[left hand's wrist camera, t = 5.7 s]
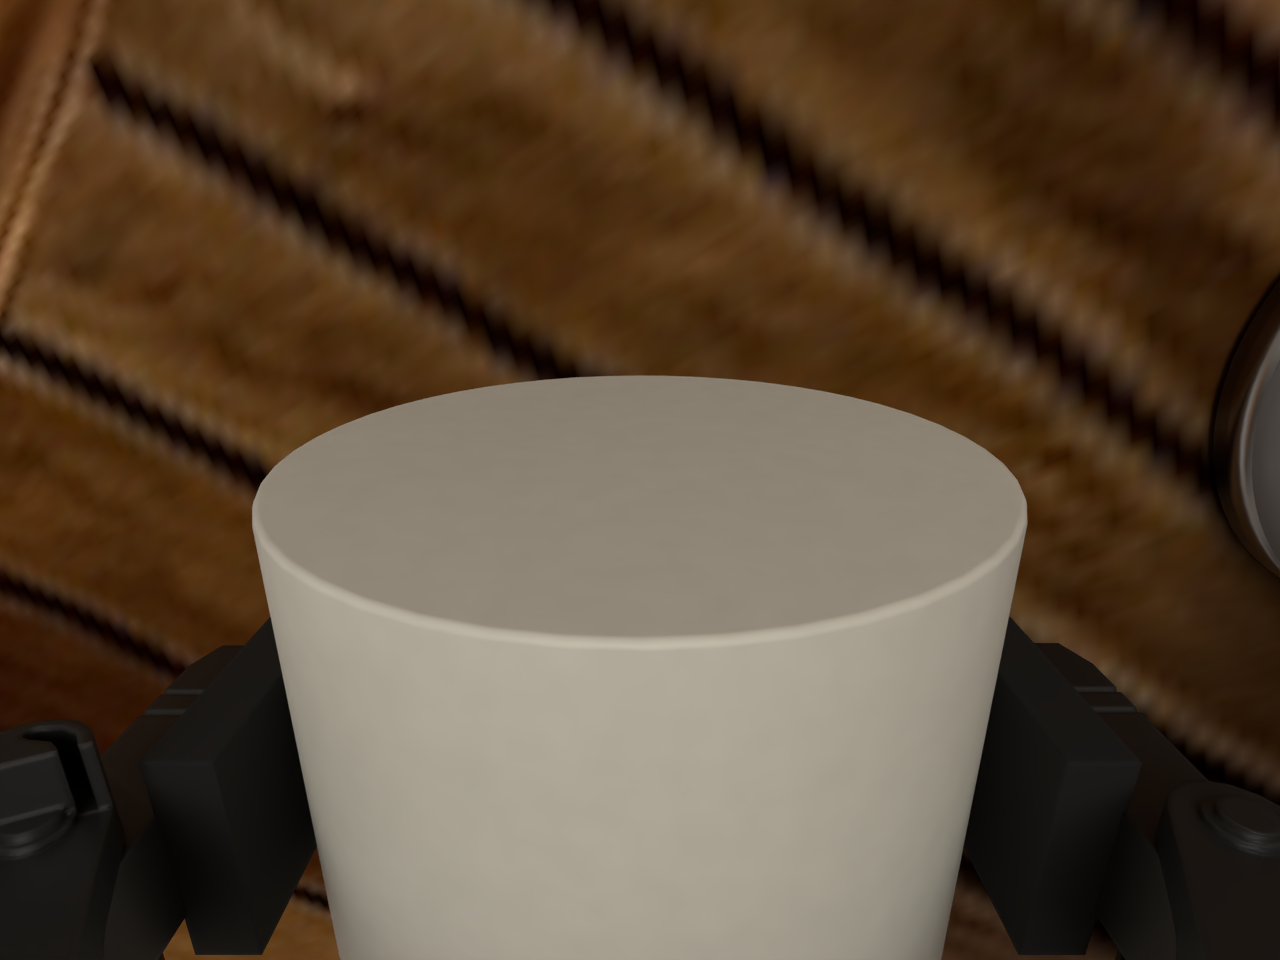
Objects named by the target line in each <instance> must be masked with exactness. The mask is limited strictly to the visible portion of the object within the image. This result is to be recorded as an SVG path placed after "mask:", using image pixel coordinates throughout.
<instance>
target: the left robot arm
mask: <svg viewBox="0 0 1280 960" xmlns="http://www.w3.org/2000/svg"><path fill="white" fill-rule="evenodd" d="M1213 462H1214V474H1215V480H1216V486H1217V491H1218V495H1219V498H1220V501H1221V505H1222V508H1223V510H1224V513H1225V515H1226V517H1227V519H1228V522H1229V524H1230V526H1231V528H1232V529H1233V531H1234V532H1235V534H1236V536H1237V537H1238V539H1239V540H1240V542H1241V543H1242V544H1243V545H1244V547H1245V548H1246V549H1247V550H1248V552H1249V553H1250V554H1251V555H1252V556H1253V557H1254V558H1255V559H1256V560H1257V561H1258V562H1259V563H1260V564H1262V565H1263V566H1264V567H1265V568H1266V569H1268V570H1269V571H1271V572H1272V573H1273V574H1275V575H1276V576H1278V577H1279V578H1280V280H1279V281H1278V283H1277V284H1276V285H1275V286H1274V288H1273V289H1272V291H1271V292H1270V293H1269V295H1268V296H1267V298H1266V299H1265V301H1264V302H1263V304H1262V305H1261V307H1260V308H1259V310H1258V311H1257V313H1256V315H1255V316H1254V318H1253V320H1252V322H1251V324H1250V325H1249V327H1248V329H1247V331H1246V332H1245V334H1244V336H1243V338H1242V340H1241V342H1240V345H1239V347H1238V349H1237V351H1236V353H1235V355H1234V357H1233V360H1232V362H1231V365H1230V368H1229V371H1228V373H1227V376H1226V379H1225V382H1224V385H1223V389H1222V392H1221V396H1220V400H1219V404H1218V408H1217V414H1216V421H1215V427H1214V440H1213ZM316 847H317V843H316V838H315V833H314V828H313V823H312V818H311V813H310V808H309V803H308V799H307V794H306V789H305V784H304V779H303V774H302V769H301V764H300V759H299V754H298V749H297V744H296V739H295V734H294V729H293V724H292V720H291V715H290V710H289V705H288V700H287V695H286V690H285V685H284V680H283V675H282V670H281V665H280V660H279V655H278V650H277V645H276V641H275V636H274V631H273V626H272V621H271V617H270V618H269V619H268V620H267V621H266V622H265V624H264V625H263V626H262V627H261V628H260V629H259V630H258V631H257V632H256V633H255V635H254V636H253V637H252V638H251V639H250V640H249V641H248V642H247V643H246V645H245V646H221V647H220V648H218V649H216V650H215V651H213V652H211V653H210V654H208V655H206V656H205V657H203V658H201V659H200V660H198V661H196V662H195V663H193V664H191V665H190V666H188V667H187V668H186V669H185V670H184V671H183V672H182V673H181V674H180V675H179V676H178V677H177V678H176V680H175V681H174V682H173V683H172V684H171V685H170V686H169V687H168V688H167V689H166V690H165V694H164V695H160V696H159V697H158V698H157V699H156V700H155V701H154V702H153V703H152V704H151V705H150V706H149V707H148V708H147V709H146V710H145V715H140V716H139V717H138V718H137V719H136V720H135V721H134V722H133V723H132V724H131V725H130V726H129V727H128V728H127V729H126V730H125V731H124V732H123V733H122V734H121V735H120V736H119V737H118V738H117V739H116V740H115V741H114V742H113V743H112V744H111V745H110V746H109V748H108V749H107V750H106V751H105V752H104V753H103V754H102V755H101V756H100V754H99V751H98V748H97V744H96V741H95V738H94V735H93V732H92V729H90V728H89V727H88V726H86V725H85V724H83V723H82V722H80V721H74V720H65V719H53V720H45V721H38V722H31V723H27V724H24V725H21V726H17V727H14V728H11V729H8V730H5V731H1V732H0V960H165V959H164V955H163V951H164V950H165V948H166V946H167V945H168V943H169V942H170V940H171V939H172V937H173V936H174V934H175V932H176V931H177V929H178V928H179V926H180V925H181V923H182V921H183V920H184V918H185V921H186V924H187V928H188V931H189V935H190V938H191V941H192V945H193V948H194V951H195V955H262V953H263V951H264V949H265V948H266V946H267V944H268V942H269V940H270V938H271V936H272V934H273V932H274V930H275V928H276V926H277V924H278V922H279V920H280V918H281V916H282V914H283V912H284V910H285V908H286V906H287V904H288V902H289V900H290V898H291V896H292V894H293V892H294V890H295V888H296V886H297V884H298V882H299V880H300V878H301V876H302V874H303V872H304V870H305V869H306V867H307V865H308V863H309V861H310V859H311V857H312V855H313V853H314V851H315V849H316ZM964 848H965V850H966V852H967V854H968V856H969V858H970V860H971V862H972V864H973V866H974V868H975V870H976V872H977V873H978V875H979V877H980V879H981V881H982V883H983V885H984V887H985V889H986V891H987V893H988V895H989V897H990V899H991V901H992V903H993V905H994V907H995V909H996V911H997V913H998V915H999V917H1000V919H1001V921H1002V923H1003V925H1004V927H1005V929H1006V931H1007V933H1008V935H1009V937H1010V939H1011V941H1012V943H1013V945H1014V947H1015V949H1016V950H1017V952H1018V954H1019V955H1085V953H1086V950H1087V947H1088V943H1089V940H1090V936H1091V933H1092V930H1093V926H1094V923H1095V920H1096V916H1097V917H1098V918H1099V920H1100V921H1101V923H1102V925H1103V926H1104V928H1105V929H1106V931H1107V932H1108V934H1109V935H1110V937H1111V938H1112V940H1113V942H1114V943H1115V945H1116V946H1117V948H1118V952H1117V955H1116V959H1115V960H1280V806H1279V805H1277V804H1275V803H1273V802H1271V801H1270V800H1268V799H1266V798H1264V797H1262V796H1260V795H1258V794H1255V793H1253V792H1250V791H1247V790H1244V789H1241V788H1238V787H1236V786H1233V785H1230V784H1225V783H1219V782H1212V781H1208V780H1207V779H1206V778H1205V777H1204V776H1203V775H1202V774H1201V773H1200V772H1199V771H1198V770H1197V769H1196V768H1195V766H1194V765H1193V764H1192V763H1191V762H1190V761H1189V760H1188V759H1187V758H1186V757H1185V756H1184V755H1183V754H1182V753H1181V752H1180V751H1179V750H1178V749H1177V748H1176V747H1175V746H1174V745H1173V744H1172V743H1171V742H1170V741H1169V740H1168V739H1167V738H1166V737H1165V736H1164V735H1163V734H1162V733H1161V732H1160V731H1159V730H1158V729H1157V728H1156V727H1155V726H1154V725H1153V724H1152V723H1151V722H1150V721H1149V720H1148V719H1147V718H1146V717H1145V716H1144V715H1143V714H1142V713H1137V712H1136V707H1135V706H1134V705H1133V704H1132V703H1131V702H1130V701H1129V700H1128V699H1127V698H1126V697H1125V696H1124V695H1123V694H1122V693H1121V692H1117V691H1116V687H1115V686H1114V685H1113V684H1112V683H1111V682H1110V681H1109V680H1108V679H1107V678H1106V677H1105V676H1104V675H1103V674H1102V673H1101V672H1100V671H1099V670H1098V669H1097V668H1096V667H1095V666H1094V665H1093V664H1092V663H1091V662H1089V661H1087V660H1085V659H1084V658H1082V657H1080V656H1079V655H1077V654H1075V653H1074V652H1072V651H1070V650H1069V649H1067V648H1065V647H1064V646H1062V645H1060V644H1059V643H1033V642H1032V641H1031V640H1030V638H1029V637H1028V636H1027V635H1026V634H1025V633H1024V632H1023V631H1022V630H1021V628H1020V627H1019V626H1018V625H1017V624H1016V623H1015V622H1014V621H1013V620H1012V619H1011V617H1010V616H1009V619H1008V624H1007V629H1006V634H1005V639H1004V644H1003V649H1002V654H1001V659H1000V664H999V669H998V674H997V679H996V685H995V690H994V695H993V700H992V705H991V710H990V715H989V720H988V725H987V730H986V735H985V740H984V745H983V750H982V755H981V760H980V765H979V770H978V775H977V781H976V786H975V791H974V796H973V801H972V806H971V811H970V816H969V821H968V826H967V831H966V836H965V841H964Z"/></svg>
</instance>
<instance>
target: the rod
mask: <svg viewBox="0 0 1280 960" xmlns="http://www.w3.org/2000/svg"><path fill="white" fill-rule="evenodd" d="M252 527H253V532H254V537H255V542H256V547H257V552H258V557H259V562H260V567H261V571H262V576H263V581H264V586H265V591H266V596H267V601H268V606H269V611H270V616H271V621H272V626H273V631H274V636H275V641H276V645H277V650H278V655H279V660H280V665H281V670H282V675H283V680H284V685H285V690H286V695H287V700H288V705H289V710H290V715H291V720H292V724H293V729H294V734H295V739H296V744H297V749H298V754H299V759H300V764H301V769H302V774H303V779H304V784H305V789H306V794H307V799H308V803H309V808H310V813H311V818H312V823H313V828H314V833H315V838H316V843H317V848H318V853H319V858H320V863H321V868H322V873H323V878H324V882H325V887H326V892H327V897H328V902H329V907H330V912H331V917H332V922H333V927H334V932H335V937H336V942H337V947H338V952H339V956H340V960H941V957H942V952H943V947H944V942H945V937H946V932H947V927H948V922H949V917H950V912H951V907H952V902H953V897H954V892H955V887H956V882H957V877H958V872H959V866H960V861H961V856H962V851H963V846H964V841H965V836H966V831H967V826H968V821H969V816H970V811H971V806H972V801H973V796H974V791H975V786H976V781H977V775H978V770H979V765H980V760H981V755H982V750H983V745H984V740H985V735H986V730H987V725H988V720H989V715H990V710H991V705H992V700H993V695H994V690H995V685H996V679H997V674H998V669H999V664H1000V659H1001V654H1002V649H1003V644H1004V639H1005V634H1006V629H1007V624H1008V619H1009V614H1010V609H1011V604H1012V599H1013V594H1014V588H1015V583H1016V578H1017V573H1018V568H1019V563H1020V558H1021V553H1022V548H1023V543H1024V538H1025V533H1026V528H1027V503H1026V499H1025V497H1024V494H1023V492H1022V490H1021V487H1020V485H1019V483H1018V480H1017V479H1016V478H1015V477H1014V476H1013V474H1012V473H1011V472H1010V471H1009V470H1008V468H1007V467H1006V466H1005V465H1004V464H1003V463H1002V462H1001V461H999V460H998V459H997V458H996V457H994V456H993V455H992V454H991V453H990V452H988V451H987V450H986V449H984V448H983V447H981V446H979V445H978V444H976V443H974V442H973V441H971V440H969V439H968V438H966V437H964V436H962V435H960V434H958V433H956V432H954V431H952V430H949V429H947V428H945V427H943V426H941V425H939V424H936V423H934V422H931V421H928V420H926V419H923V418H920V417H918V416H915V415H912V414H910V413H907V412H903V411H900V410H897V409H894V408H890V407H887V406H884V405H881V404H877V403H873V402H869V401H865V400H861V399H857V398H853V397H848V396H843V395H838V394H834V393H829V392H824V391H818V390H812V389H806V388H800V387H794V386H787V385H779V384H771V383H764V382H754V381H744V380H734V379H720V378H705V377H683V376H600V377H578V378H564V379H551V380H540V381H530V382H520V383H512V384H505V385H497V386H490V387H483V388H477V389H471V390H466V391H460V392H454V393H449V394H445V395H440V396H435V397H431V398H426V399H422V400H418V401H414V402H410V403H407V404H403V405H399V406H395V407H392V408H389V409H386V410H383V411H379V412H376V413H373V414H370V415H367V416H364V417H362V418H359V419H357V420H354V421H352V422H349V423H346V424H344V425H341V426H339V427H337V428H335V429H333V430H330V431H328V432H326V433H324V434H322V435H320V436H318V437H316V438H314V439H312V440H311V441H309V442H307V443H306V444H304V445H303V446H301V447H299V448H298V449H296V450H294V451H293V452H291V453H290V454H289V455H288V456H287V457H285V458H284V459H283V460H282V461H281V462H279V463H278V464H277V465H276V466H275V467H274V468H273V469H272V470H271V472H270V473H269V474H268V475H267V477H266V478H265V479H264V480H263V482H262V483H261V485H260V487H259V490H258V492H257V495H256V497H255V500H254V503H253V506H252Z"/></svg>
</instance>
